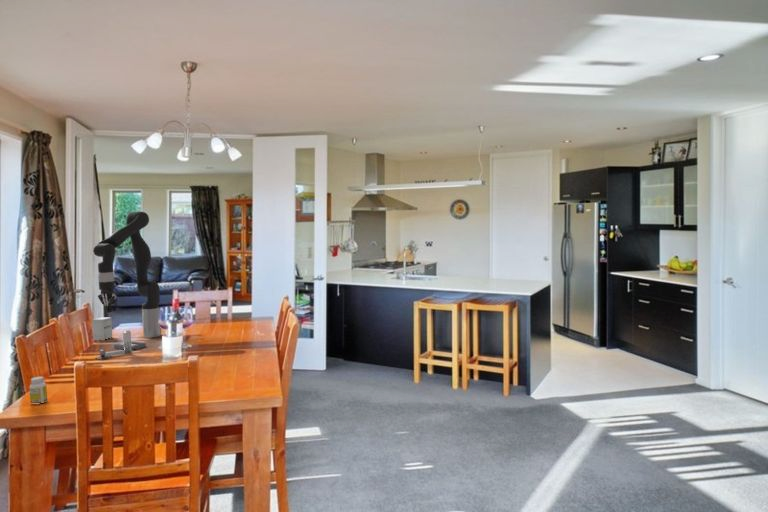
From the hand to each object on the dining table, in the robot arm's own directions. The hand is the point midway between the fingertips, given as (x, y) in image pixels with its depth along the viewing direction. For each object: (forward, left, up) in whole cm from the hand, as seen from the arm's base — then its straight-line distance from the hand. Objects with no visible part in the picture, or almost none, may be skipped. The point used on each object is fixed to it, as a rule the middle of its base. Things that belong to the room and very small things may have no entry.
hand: (108, 312), depth 276 cm
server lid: (-7, +6, -21) cm, 23 cm away
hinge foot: (+13, +12, -21) cm, 27 cm away
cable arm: (+8, +15, -20) cm, 26 cm away
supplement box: (-16, -28, -21) cm, 38 cm away
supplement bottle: (+67, +50, -21) cm, 86 cm away
